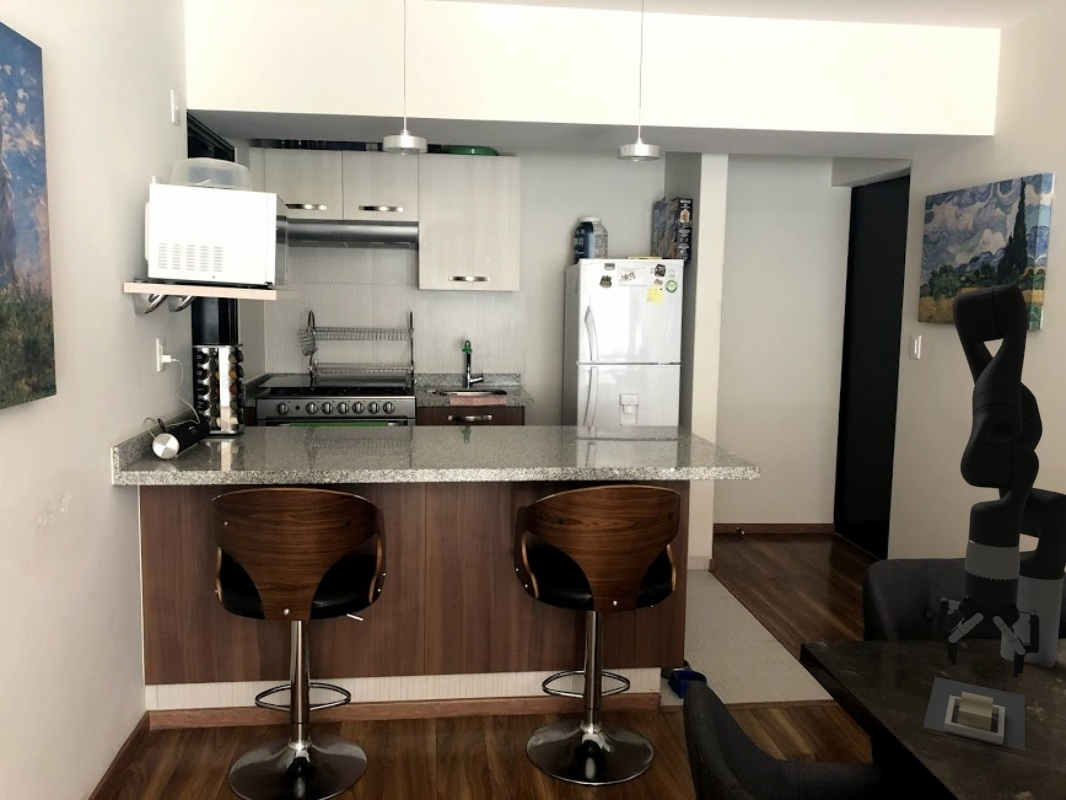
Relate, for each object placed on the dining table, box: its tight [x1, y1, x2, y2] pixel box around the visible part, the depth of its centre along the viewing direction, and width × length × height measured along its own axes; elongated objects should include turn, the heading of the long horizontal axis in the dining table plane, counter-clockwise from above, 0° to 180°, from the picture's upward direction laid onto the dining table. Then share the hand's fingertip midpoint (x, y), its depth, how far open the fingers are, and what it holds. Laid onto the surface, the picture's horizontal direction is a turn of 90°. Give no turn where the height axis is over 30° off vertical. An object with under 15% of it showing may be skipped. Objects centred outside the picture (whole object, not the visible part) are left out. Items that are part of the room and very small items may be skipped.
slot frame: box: [944, 695, 1005, 744], centre depth 138 cm, size 12×8×1 cm
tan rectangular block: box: [958, 692, 993, 731], centre depth 138 cm, size 8×4×3 cm, turn 151°
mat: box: [922, 676, 1026, 757], centre depth 142 cm, size 22×14×1 cm, turn 151°
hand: (984, 669), depth 137 cm, fingers open, 8 cm apart
